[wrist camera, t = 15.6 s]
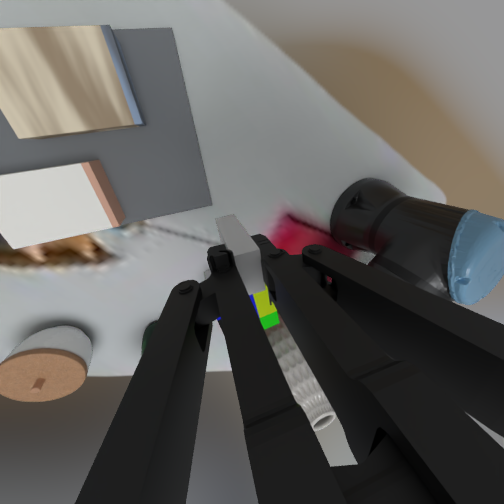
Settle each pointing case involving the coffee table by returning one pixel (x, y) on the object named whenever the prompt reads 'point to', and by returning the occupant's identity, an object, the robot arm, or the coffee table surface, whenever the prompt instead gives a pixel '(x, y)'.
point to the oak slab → (65, 82)
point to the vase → (300, 377)
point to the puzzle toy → (259, 307)
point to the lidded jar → (46, 365)
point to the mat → (133, 137)
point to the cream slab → (56, 203)
